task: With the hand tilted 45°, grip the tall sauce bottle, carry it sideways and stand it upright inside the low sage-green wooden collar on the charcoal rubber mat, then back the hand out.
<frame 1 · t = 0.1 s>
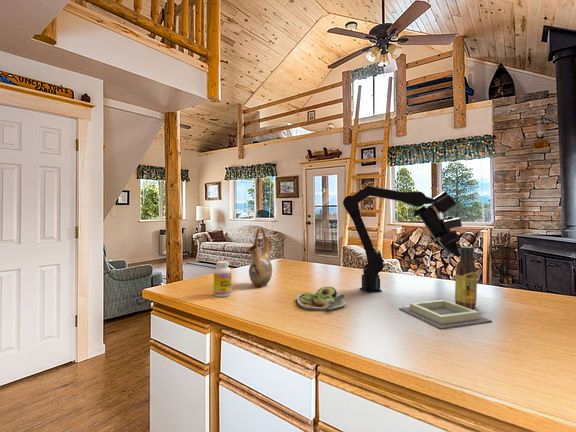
hand: (455, 255, 121), 15 cm above the kitchen island, tool tilted 35°, fingers open, 9 cm apart
bottle collar: (442, 310, 98), on the rubber mat
ceramic vessel: (260, 286, 137), on the kitchen island
salad plate: (321, 304, 112), on the kitchen island
supplement bottle: (222, 295, 123), on the kitchen island
rubber mat: (442, 315, 98), on the kitchen island
sauce bottle: (465, 306, 106), on the kitchen island
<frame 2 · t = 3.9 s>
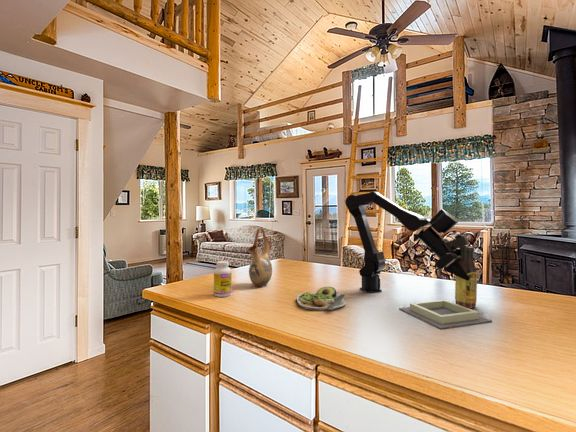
hand: (470, 277, 105), 10 cm above the kitchen island, tool tilted 45°, fingers closed on sauce bottle, 6 cm apart
sauce bottle: (465, 306, 106), on the kitchen island, touching gripper
everything else where it was.
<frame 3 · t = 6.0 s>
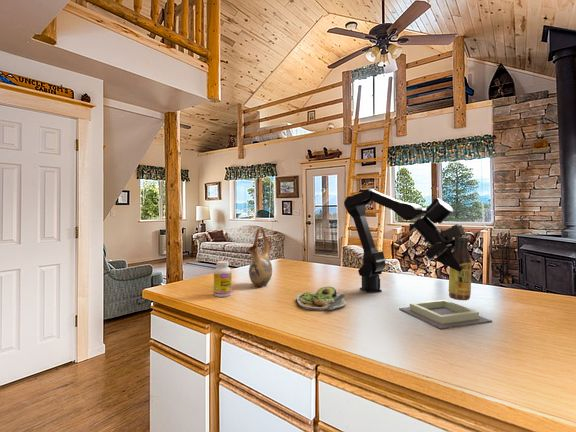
hand: (464, 269, 101), 13 cm above the kitchen island, tool tilted 45°, fingers closed on sauce bottle, 6 cm apart
sauce bottle: (459, 299, 103), point 3 cm above the kitchen island, touching gripper
everything else where it was.
when the fingers open (10 cm above the kitchen island, at t = 8.1 s): sauce bottle stays where it is, resting on rubber mat.
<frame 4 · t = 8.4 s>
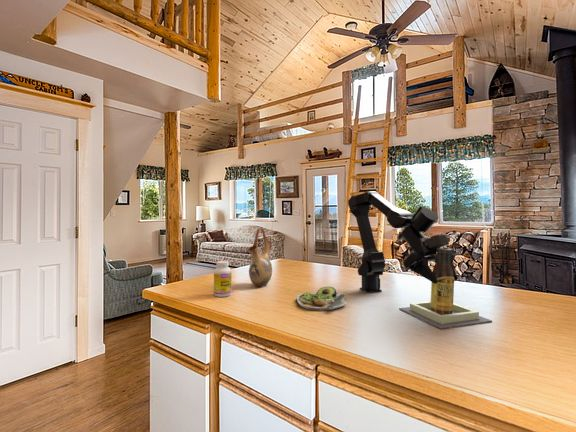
hand: (446, 281, 96), 11 cm above the kitchen island, tool tilted 45°, fingers open, 9 cm apart
sauce bottle: (441, 314, 98), resting on rubber mat
everything else where it was.
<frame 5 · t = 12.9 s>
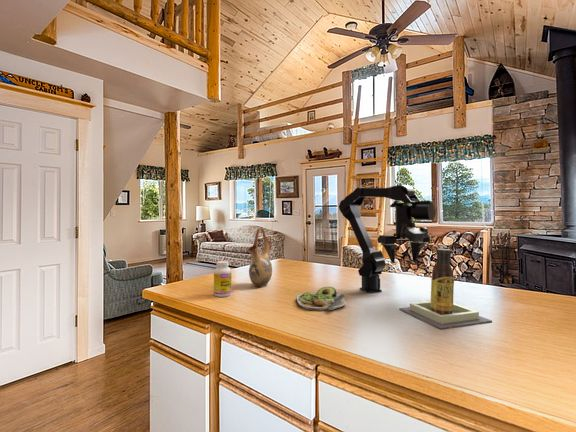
hand: (404, 262, 117), 13 cm above the kitchen island, tool pointing down, fingers open, 9 cm apart
nothing on the kitchen island moved.
at the end: sauce bottle 0.2 cm off-centre on the bottle collar, point 0.2 cm above the bottle collar's base; sauce bottle tilted 0°; the gripper is holding nothing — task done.
